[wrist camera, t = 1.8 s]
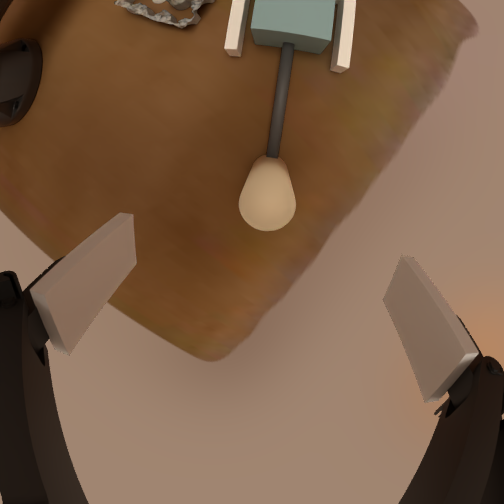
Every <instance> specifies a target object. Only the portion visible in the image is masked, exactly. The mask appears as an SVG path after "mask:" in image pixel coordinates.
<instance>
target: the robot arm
mask: <svg viewBox="0 0 504 504" xmlns="http://www.w3.org/2000/svg"><path fill="white" fill-rule="evenodd" d="M12 1H13V0H0V21H1V19H2V17H3V16H4V14H5V12H6V11H7V9H8V7H9V6H10V4H11V3H12ZM41 70H42V54H41V50H40V47H39V45H38V43H37V42H36V41H35V40H32V39H25V38H20V39H15V40H12V41H9V42H6V43H4V44H1V45H0V127H4V126H8V125H12V124H15V123H17V122H18V121H19V120H20V119H21V118H22V117H23V116H24V115H25V114H26V112H27V111H28V109H29V107H30V106H31V104H32V102H33V99H34V97H35V94H36V92H37V89H38V85H39V81H40V77H41ZM136 264H137V261H136V250H135V237H134V221H133V214H128V213H119V214H117V215H116V216H115V217H113V218H112V219H111V220H109V221H108V222H107V223H106V224H104V225H103V226H102V227H100V228H99V229H98V230H97V231H95V232H94V233H93V234H92V235H90V236H89V237H88V238H87V239H85V240H84V241H83V242H82V243H81V244H79V245H78V246H77V247H76V248H75V249H73V250H72V251H71V252H70V253H69V254H68V255H67V256H64V257H62V258H60V259H58V260H56V261H55V262H54V263H53V264H51V265H50V266H49V267H48V269H46V270H45V271H44V272H43V273H42V274H40V275H39V276H38V277H37V278H36V279H35V280H34V281H33V282H32V283H31V284H30V285H29V286H28V287H27V288H26V289H25V290H24V291H23V292H22V289H21V286H20V284H19V281H18V278H17V275H16V273H15V272H13V271H4V272H1V273H0V492H1V496H2V501H3V504H89V503H88V501H87V499H86V497H85V495H84V492H83V490H82V488H81V485H80V483H79V480H78V478H77V475H76V472H75V470H74V467H73V464H72V461H71V458H70V456H69V452H68V449H67V446H66V443H65V439H64V436H63V432H62V428H61V424H60V421H59V417H58V412H57V407H56V403H55V398H54V393H53V387H52V380H51V374H50V367H49V359H48V350H47V348H46V345H45V343H46V342H47V341H48V339H50V341H51V343H52V345H53V347H54V349H55V350H58V351H60V352H62V353H64V354H67V355H70V354H71V352H72V350H73V349H74V348H75V346H76V345H77V343H78V342H79V340H80V339H81V337H82V336H83V334H84V333H85V332H86V330H87V329H88V327H89V326H90V324H91V323H92V322H93V320H94V318H95V317H96V316H97V315H98V313H99V312H100V310H101V309H102V308H103V306H104V305H105V304H106V302H107V301H108V300H109V298H110V297H111V296H112V294H113V293H114V292H115V291H116V289H117V288H118V287H119V285H120V284H121V283H122V281H123V280H124V279H125V278H126V276H127V275H128V274H129V273H130V271H131V270H132V269H133V268H134V266H135V265H136ZM383 301H384V303H385V305H386V308H387V310H388V312H389V314H390V316H391V319H392V321H393V323H394V325H395V327H396V330H397V332H398V334H399V337H400V339H401V341H402V344H403V346H404V348H405V351H406V353H407V356H408V358H409V361H410V364H411V366H412V369H413V371H414V374H415V377H416V379H417V382H418V385H419V388H420V391H421V393H422V396H423V399H424V402H425V403H426V402H433V401H438V400H439V399H440V398H441V397H442V396H443V395H444V394H445V393H446V392H447V391H448V394H449V396H450V397H449V398H448V399H447V400H446V401H445V402H444V403H443V404H442V406H440V407H439V408H438V409H437V410H436V412H435V413H434V414H435V415H436V414H438V413H439V412H440V411H442V412H441V415H440V416H439V417H440V418H439V421H438V424H437V426H436V429H435V431H434V434H433V437H432V439H431V441H430V444H429V446H428V448H427V451H426V453H425V455H424V457H423V459H422V461H421V464H420V466H419V468H418V470H417V472H416V474H415V475H414V477H413V479H412V481H411V483H410V485H409V487H408V489H407V490H406V492H405V494H404V495H403V497H402V499H401V500H400V502H399V504H504V419H503V420H502V414H503V413H504V371H503V368H502V367H501V365H500V364H499V362H498V361H497V360H495V359H494V358H492V357H490V356H485V357H483V355H482V353H481V351H480V350H479V348H478V346H477V345H476V343H475V341H474V340H473V338H472V336H471V335H469V332H468V330H467V328H465V325H464V324H463V322H462V321H461V319H460V318H459V317H458V316H457V315H456V314H455V313H454V311H453V310H452V308H451V307H450V305H449V304H448V303H447V301H446V300H445V298H444V297H443V296H442V294H441V293H440V291H439V290H438V289H437V287H436V286H435V285H434V283H433V282H432V280H431V279H430V278H429V276H428V275H427V274H426V272H425V271H424V270H423V269H422V267H421V266H420V265H419V263H418V262H417V261H416V260H415V258H414V257H410V256H405V255H401V258H400V260H399V263H398V265H397V268H396V270H395V273H394V275H393V278H392V280H391V282H390V285H389V287H388V289H387V292H386V294H385V296H384V298H383Z"/></svg>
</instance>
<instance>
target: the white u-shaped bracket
mask: <svg viewBox="0 0 504 504" xmlns="http://www.w3.org/2000/svg"><path fill="white" fill-rule="evenodd" d="M249 4H250V0H233V2H232V7H231V12H230V18H229V24H228V29H227V35H226V41H225V48H224V49H225V50H226V52H227V53H228V54H229V55H230V56H239V57H241V53H242V46H243V40H244V34H245V27H246V21H247V15H248V10H249ZM335 4H338V8H337V18H336V27H335V36H334V44H333V52H332V60H331V67H330V71H334V72H338V73H342V72H343V71H345V70H347V69H348V68H349V64H350V56H351V48H352V39H353V29H354V18H355V6H356V0H335Z"/></svg>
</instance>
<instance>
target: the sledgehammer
mask: <svg viewBox="0 0 504 504" xmlns="http://www.w3.org/2000/svg"><path fill="white" fill-rule="evenodd" d="M334 9H335V0H255V5H254V11H253V17H252V23H251V31H252V35H253V39H254V42H255V44H257V45H266V46H274V47H282V52H281V59H280V65H279V72H278V79H277V86H276V93H275V100H274V107H273V114H272V120H271V127H270V134H269V141H268V148H267V154H266V155H262V156H260V157H259V158H257V159H256V161H255V162H254V164H253V166H252V168H251V170H250V173H249V175H248V178H247V180H246V183H245V185H244V187H243V190H242V192H241V195H240V198H239V209H240V213H241V215H242V217H243V219H244V220H245V221H246V222H247V223H248V224H249V225H250V226H252V227H254V228H256V229H258V230H262V231H273V230H277V229H280V228H282V227H283V226H285V225H286V224H287V223H288V222H289V221H290V220H291V219H292V217H293V215H294V213H295V208H296V201H295V196H294V192H293V188H292V184H291V180H290V177H289V173H288V169H287V166H286V164H285V162H284V161H283V160H282V159H281V158H280V157H279V156H278V154H279V148H280V141H281V135H282V128H283V122H284V115H285V108H286V102H287V95H288V88H289V81H290V74H291V67H292V61H293V54H294V50H300V51H306V52H311V53H316V54H321V53H322V51H323V50H324V49H325V48H326V46H327V45H328V44H329V43H330V41H331V36H332V27H333V18H334Z"/></svg>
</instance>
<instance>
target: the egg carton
mask: <svg viewBox="0 0 504 504" xmlns="http://www.w3.org/2000/svg"><path fill="white" fill-rule="evenodd" d="M134 1H135V0H118V1H117V2H116V1H115V2H114V4H116V5H119V6H122V7H125V8H127V10H128V11H129V12H131V13H133V14H136V15H140V14H141V15H144V16H146V17H148V18H150V19H152V20H155V21H159V22H164V23H168V24H173V25H175V26H176V27H178V28H184V27H185V26H187V25H190V24H197V23H198V22H199V20H200V19H201V17H200V16H199V15H198V14H197V9H198V8H199V7H200V6H201V5H202V4H205V3H213V2H214V1H215V0H153V2H154V3H157V4H158V3H159V4H160V3H163V2H165V1H168V2H169V3H170V4H171V5H172V6H173V7H174V8H176V9H177V10H185V9H187V8H188V7H190V6H191V4H192V6H191V8H192V9H193V10H192V13H193V14H194V16H193V18H192V19H186V18H184V19H182V20H179V21H178V22H179V23H177V20H176V18H175V17H174V16H173V15H171V14H170V13H169V12H167V11H166V10H162V12H160V13H157V14H155V13H154V12H153V11H152V10H151V9H150V8H148V7H147V6H146V5H143V4H142V3H139V4H135V5H134V4H132V3H133V2H134Z"/></svg>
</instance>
